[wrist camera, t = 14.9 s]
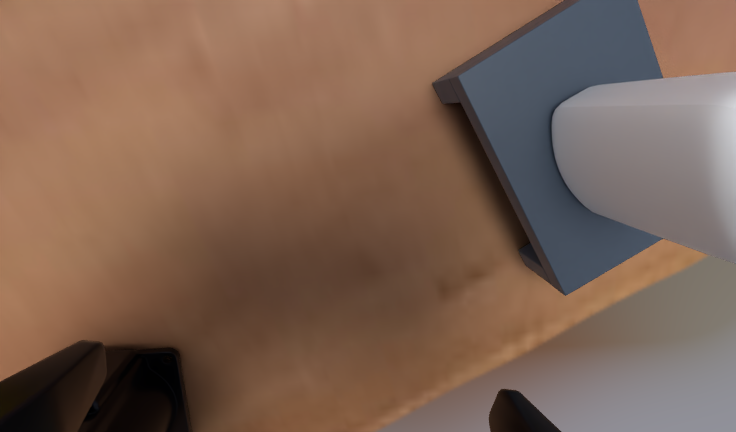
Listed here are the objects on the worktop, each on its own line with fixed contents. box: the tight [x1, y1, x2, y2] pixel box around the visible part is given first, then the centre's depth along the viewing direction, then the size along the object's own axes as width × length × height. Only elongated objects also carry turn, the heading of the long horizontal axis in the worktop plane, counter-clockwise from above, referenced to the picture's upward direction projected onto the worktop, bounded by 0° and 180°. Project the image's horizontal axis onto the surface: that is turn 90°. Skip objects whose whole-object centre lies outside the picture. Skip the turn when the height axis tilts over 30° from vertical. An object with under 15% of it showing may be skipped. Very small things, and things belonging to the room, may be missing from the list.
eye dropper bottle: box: [552, 72, 736, 264], centre depth 12 cm, size 4×6×12 cm
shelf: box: [432, 0, 663, 296], centre depth 19 cm, size 8×12×4 cm, turn 31°
